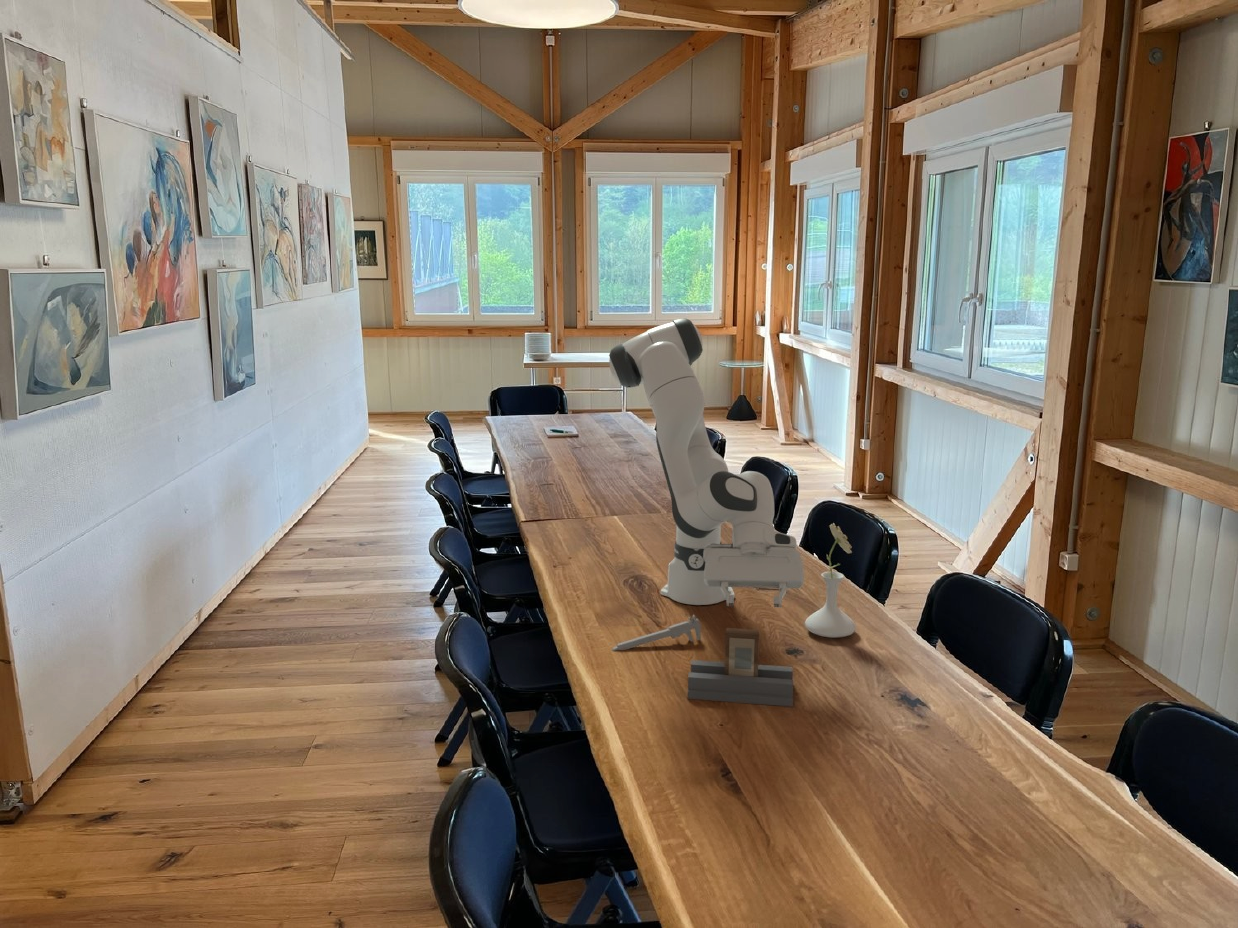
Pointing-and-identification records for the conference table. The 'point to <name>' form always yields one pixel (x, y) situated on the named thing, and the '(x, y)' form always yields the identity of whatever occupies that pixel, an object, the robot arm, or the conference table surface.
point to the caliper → (665, 634)
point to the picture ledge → (740, 684)
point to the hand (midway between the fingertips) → (753, 605)
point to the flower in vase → (832, 600)
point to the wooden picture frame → (741, 652)
